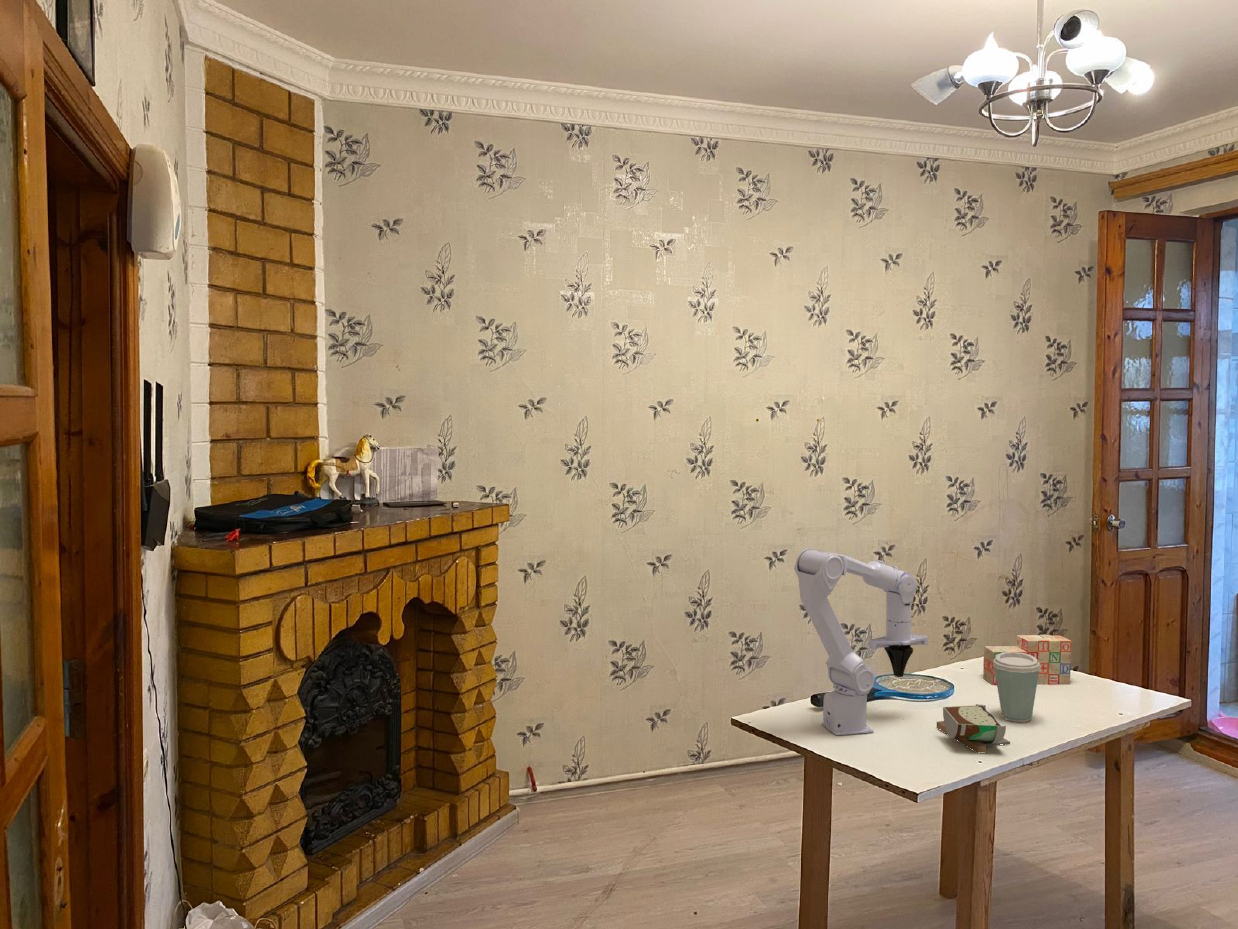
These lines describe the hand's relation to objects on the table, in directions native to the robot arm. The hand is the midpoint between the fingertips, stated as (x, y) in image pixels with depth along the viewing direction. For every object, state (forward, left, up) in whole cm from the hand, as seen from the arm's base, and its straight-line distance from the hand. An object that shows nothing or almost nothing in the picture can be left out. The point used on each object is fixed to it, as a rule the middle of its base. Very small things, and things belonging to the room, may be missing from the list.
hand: (898, 675), depth 219 cm
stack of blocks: (+49, +19, -11) cm, 54 cm away
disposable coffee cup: (+28, -6, -11) cm, 30 cm away
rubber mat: (+12, -15, -10) cm, 22 cm away
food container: (+2, -18, -7) cm, 19 cm away
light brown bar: (+6, -16, -10) cm, 20 cm away
